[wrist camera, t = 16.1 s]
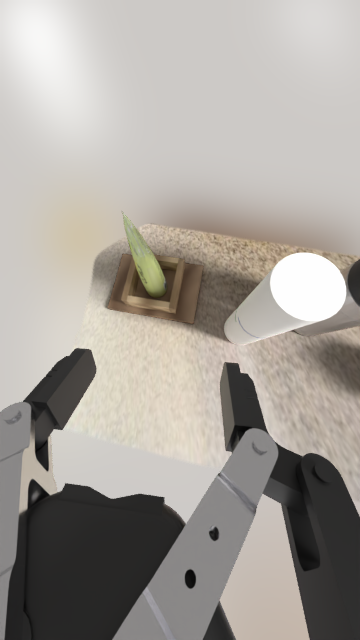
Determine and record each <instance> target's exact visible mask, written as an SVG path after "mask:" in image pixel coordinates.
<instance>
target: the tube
mask: <svg viewBox="0 0 360 640" xmlns="http://www.w3.org/2000/svg"><path fill="white" fill-rule="evenodd" d="M122 214H123V219H124V225H125V231H126V235H127V239H128V242H129V246H130V249H131V252H132V256H133V259H134V262H135V265H136V268H137V271H138V273H139V276H140V278H141V281H142V283H143V285H144V287H145V289H146V291H147V292H148V294H149V295H150V296H152V297H155V298H159V297H162V296H163V295H164V294H165V293H166V292H167V283H166V280H165V277H164V275H163V272H162V270H161V268H160V265H159V263H158V261H157V260H156V258H155V256H154V254H153V253H152V251H151V249H150V248H149V246H148V245H147V243H146V242H145V240H144V239H143V237H142V236H141V234H140V233H139V231H138V230H137V229H136V227H135V226H134V225H133V223H132V222H131V221H130V220H129V219H128V218H127V216H126V215H124V213H123V212H122Z"/></svg>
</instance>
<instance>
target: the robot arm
mask: <svg viewBox="0 0 360 640" xmlns="http://www.w3.org/2000/svg"><path fill="white" fill-rule="evenodd" d="M340 273H341V274H342V276H343V278H344V281H345V285H346V298H345V302H344V304H343V306H342V307H341V309H340V310H339V311H338V312H337V313H336V314H335V315H333V316H332V317H330V318H328V319H325V320H322V321H319V322H316V323H313V324H309V325H306V326H303V327H300V328H297V329H294V331H295V332H297V333H299V334H301V335H305V336H314V335H319V334H324V333H329V332H334V331H338V330H343V329H348V328H353V327H357V326H360V259H359V260H358V261H356V262H354V263H353V264H351V265H350V266H348V267H346V268H345V269H343V270H341V271H340ZM95 374H96V365H95V362H94V358H93V355H92V352H91V350H90V349H80V348H76V349H75V350H74V351H73V352H72V353H71V354H70V356H66V357H64V358H63V359H62V360H60V361H58V362H57V363H56V365H55V366H54V367H53V368H52V369H51V371H49V373H48V374H47V375H46V377H44V378H43V379H42V381H41V382H40V383H39V384H38V385H37V386H36V387H35V388H34V390H33V391H32V392H31V393H30V394H29V395H28V396H27V397H26V399H25V400H24V401H23V402H19V403H15V404H13V405H10V406H8V407H7V408H5V409H4V410H2V411H1V412H0V640H236V639H235V636H234V634H233V632H232V629H231V627H230V625H229V622H228V620H227V618H226V615H225V613H224V610H223V608H222V606H221V603H220V601H219V600H220V597H221V595H222V593H223V590H224V588H225V586H226V583H227V581H228V578H229V576H230V574H231V571H232V569H233V567H234V564H235V561H236V560H237V557H238V555H239V552H240V550H241V548H242V545H243V543H244V541H245V538H246V536H247V533H248V531H249V529H250V526H251V524H252V522H253V519H254V516H255V513H256V508H257V505H258V502H259V500H260V497H261V495H262V493H263V494H264V495H266V496H268V497H270V498H272V499H274V500H276V501H277V502H279V503H281V505H282V511H283V515H284V520H285V524H286V530H287V534H288V539H289V544H290V548H291V553H292V558H293V562H294V567H295V572H296V577H297V581H298V586H299V590H300V596H301V600H302V605H303V610H304V614H305V619H306V624H307V628H308V633H309V638H310V640H360V517H359V514H358V512H357V510H356V508H355V505H354V503H353V501H352V499H351V496H350V494H349V492H348V490H347V488H346V485H345V483H344V481H343V479H342V477H341V475H340V473H339V472H338V470H337V469H336V468H335V466H334V465H333V464H332V463H331V462H329V461H328V460H327V459H325V458H324V457H322V456H320V455H318V454H314V453H309V454H306V455H304V456H300V455H298V454H296V453H294V452H291V451H289V450H287V449H285V448H283V447H281V446H280V445H278V444H277V443H276V442H275V441H274V440H273V438H272V437H271V436H270V435H269V433H268V431H267V429H266V426H265V422H264V419H263V415H262V412H261V408H260V404H259V401H258V397H257V393H256V390H255V386H254V383H253V381H252V379H251V378H250V377H249V375H248V374H245V373H240V368H239V364H238V363H228V362H225V363H224V366H223V371H222V376H221V380H220V394H221V405H222V416H223V427H224V437H225V448H226V451H231V452H232V455H231V456H230V458H229V459H228V461H227V463H226V464H225V466H224V467H223V469H222V471H221V472H220V473H219V474H218V475H217V476H216V478H215V479H214V481H213V482H212V484H211V486H210V487H209V489H208V490H207V492H206V494H205V495H204V497H203V498H202V500H201V502H200V503H199V505H198V506H197V508H196V510H195V511H194V513H193V514H192V516H191V518H190V519H189V521H188V522H187V524H185V522H184V521H183V520H182V518H181V517H180V516H179V515H178V514H177V512H175V511H174V510H173V509H172V508H171V507H169V506H167V505H166V504H165V502H164V497H157V496H151V495H144V494H136V495H131V496H126V497H121V498H116V499H110V498H108V497H106V496H104V495H102V494H101V493H99V492H97V491H96V490H94V489H92V488H91V487H88V486H81V485H74V484H65V486H64V488H63V490H62V491H60V492H57V486H56V482H55V480H54V476H53V466H52V445H51V436H50V434H51V432H52V431H53V429H58V430H63V428H64V427H65V425H66V423H67V422H68V420H69V418H70V417H71V415H72V413H73V412H74V410H75V408H76V407H77V405H78V403H79V402H80V400H81V398H82V397H83V395H84V393H85V392H86V390H87V388H88V387H89V385H90V383H91V382H92V380H93V378H94V377H95Z"/></svg>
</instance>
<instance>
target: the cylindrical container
mask: <svg viewBox="0 0 360 640" xmlns="http://www.w3.org/2000/svg"><path fill="white" fill-rule="evenodd" d="M345 298H346V285H345V281H344V278H343V276H342V274H341V273H340V271H339V270H338V268H337V267H336V266H335V265H334V264H333V263H331V262H330V261H329V260H327V259H325V258H323V257H321V256H319V255H316V254H312V253H296V254H292V255H289V256H287V257H285V258H283V259H282V260H281V261H280V262H279V263H278V264H277V265H276V266H275V267H274V268H273V269H272V270H271V271H270V272H269V273H268V275H267V276H266V277H265V278H264V279H263V280H262V281H261V282H260V283H259V285H258V286H257V287H256V288H255V289H254V290H253V291H252V292H251V293H250V295H249V296H248V297H247V298H246V299H245V300H244V301H243V302H242V303H241V305H240V306H239V307H238V308H237V309H236V310H235V311H234V312H233V313H232V315H231V316H230V317H229V318H228V319H227V320H226V322H225V325H224V333H225V336H226V337H227V339H228V340H229V341H230V342H232V343H233V344H236V345H246V344H249V343H252V342H255V341H259V340H262V339H265V338H268V337H271V336H274V335H278V334H281V333H284V332H287V331H290V330H294V329H297V328H300V327H303V326H306V325H309V324H313V323H316V322H319V321H322V320H325V319H328V318H330V317H332V316H333V315H335V314H336V313H337V312H338V311H339V310H340V309H341V307H342V306H343V304H344V302H345Z"/></svg>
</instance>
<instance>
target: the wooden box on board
mask: <svg viewBox="0 0 360 640" xmlns="http://www.w3.org/2000/svg"><path fill="white" fill-rule="evenodd" d="M154 256H155V258H156V260H157V261H158V263H159V265H160V268H161V270H162V272H163V275H164V277H165V280H166V283H167V292H166V293H165V294H164V295H163V296H162V297H159V298H155V297H152V296H150V295H149V294H148V292H147V291H146V289H145V287H144V285H143V283H142V281H141V278H140V276H139V273H138V271H137V268H136V265H135V262H134V259H133V256H132V255H128V254H122V258H121V262H120V265H119V269H118V272H117V276H116V280H115V283H114V287H113V290H112V294H111V298H110V301H109V305H108V308H109V309H110V310H116V311H122V312H128V313H133V314H139V315H145V316H150V317H156V318H162V319H168V320H173V321H179V322H185V323H190V324H193V323H194V317H195V312H196V306H197V300H198V295H199V289H200V283H201V278H202V272H203V266H202V265H195V264H189V263H185V262H184V259H181V258H174V257H167V256H161V255H154Z"/></svg>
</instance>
